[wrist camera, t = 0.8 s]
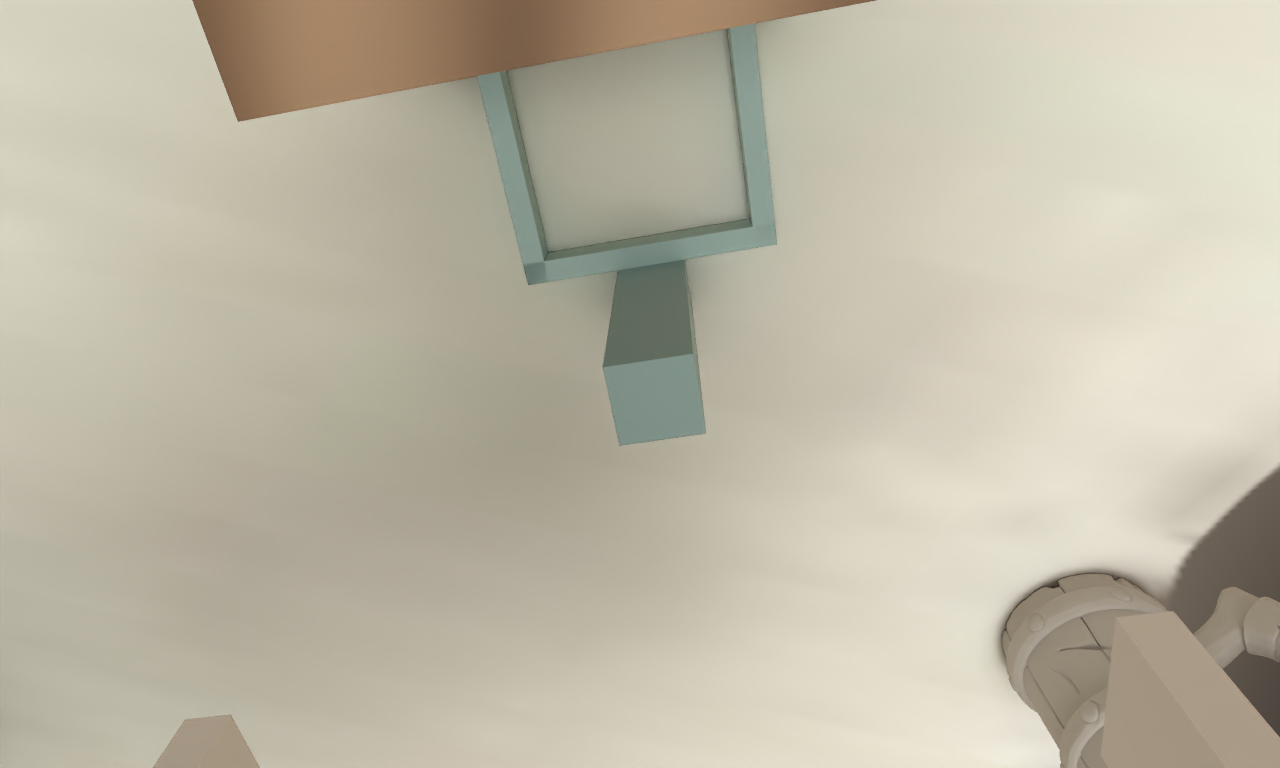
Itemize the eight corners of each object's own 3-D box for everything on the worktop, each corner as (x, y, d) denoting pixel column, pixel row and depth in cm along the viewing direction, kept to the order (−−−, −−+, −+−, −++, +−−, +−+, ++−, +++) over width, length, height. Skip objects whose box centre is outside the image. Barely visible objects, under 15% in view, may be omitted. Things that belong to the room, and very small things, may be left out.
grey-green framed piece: (547, 333, 32) (503, 462, 23) (376, -367, 23) (192, -610, 14) (779, 297, 31) (828, 416, 22) (700, -447, 22) (729, -763, 13)
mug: (969, 609, 38) (1094, 852, 27) (1224, 502, 35) (1479, 725, 24) (1027, 709, 40) (1160, 966, 30) (1268, 617, 38) (1514, 864, 27)
